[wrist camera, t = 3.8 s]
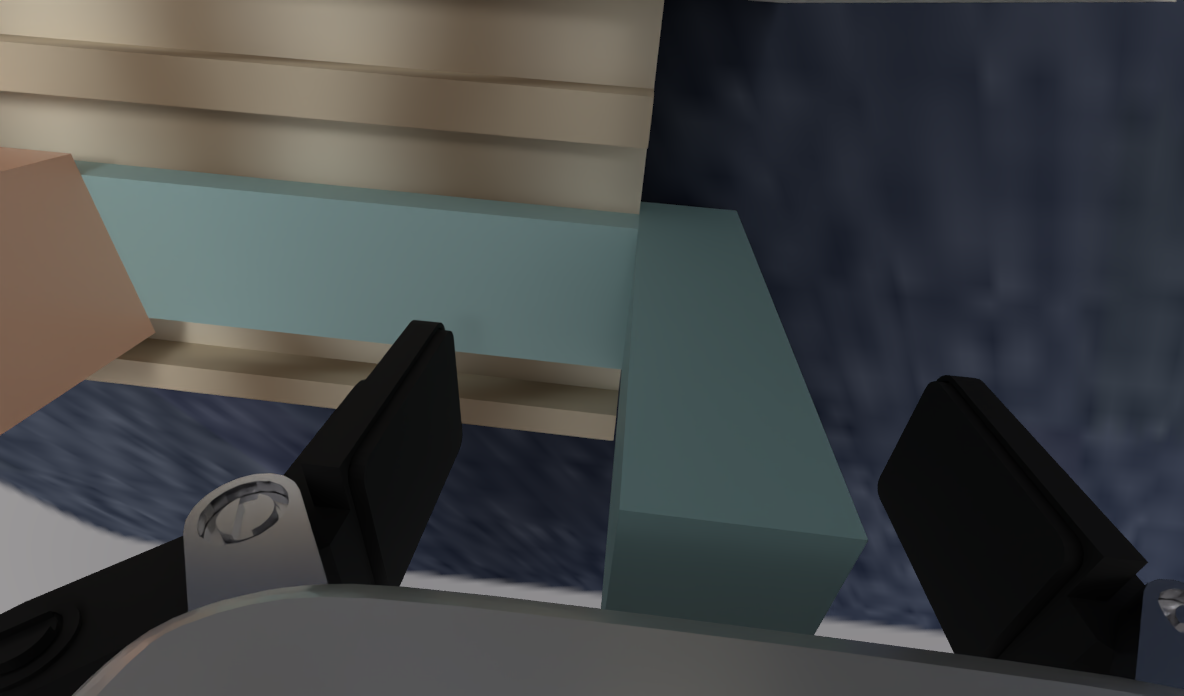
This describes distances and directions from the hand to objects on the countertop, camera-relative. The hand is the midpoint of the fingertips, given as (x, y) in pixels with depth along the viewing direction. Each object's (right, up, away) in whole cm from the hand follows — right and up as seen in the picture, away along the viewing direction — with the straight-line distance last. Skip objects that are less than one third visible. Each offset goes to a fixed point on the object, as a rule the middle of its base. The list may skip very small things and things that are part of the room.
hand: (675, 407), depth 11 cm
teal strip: (-9, +4, +5) cm, 11 cm away
